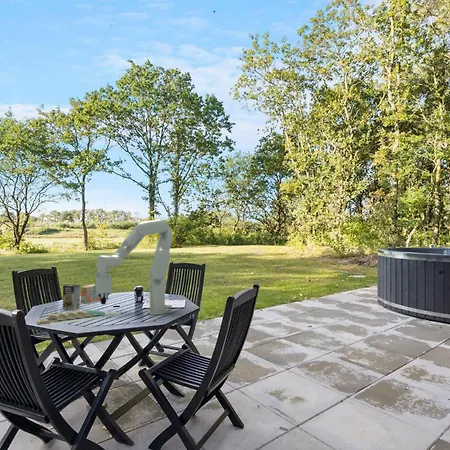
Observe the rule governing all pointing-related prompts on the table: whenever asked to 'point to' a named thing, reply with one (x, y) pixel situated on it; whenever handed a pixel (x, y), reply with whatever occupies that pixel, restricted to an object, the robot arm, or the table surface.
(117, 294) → the table surface
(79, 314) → the tile
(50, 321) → the tile
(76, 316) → the tile
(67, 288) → the coffee box
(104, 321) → the table surface
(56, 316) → the tile
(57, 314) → the tile
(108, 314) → the mat
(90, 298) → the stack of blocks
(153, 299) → the robot arm
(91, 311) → the tile
